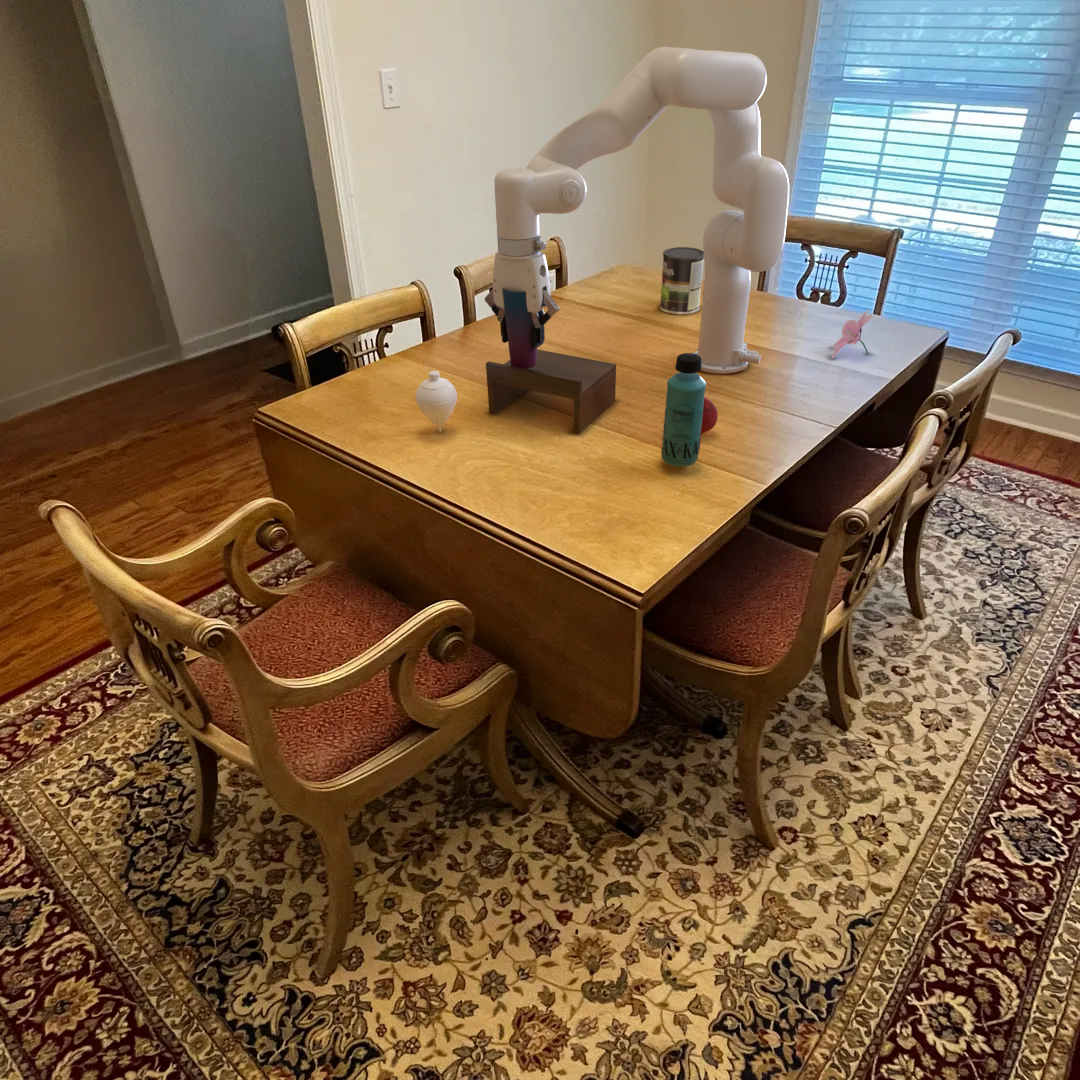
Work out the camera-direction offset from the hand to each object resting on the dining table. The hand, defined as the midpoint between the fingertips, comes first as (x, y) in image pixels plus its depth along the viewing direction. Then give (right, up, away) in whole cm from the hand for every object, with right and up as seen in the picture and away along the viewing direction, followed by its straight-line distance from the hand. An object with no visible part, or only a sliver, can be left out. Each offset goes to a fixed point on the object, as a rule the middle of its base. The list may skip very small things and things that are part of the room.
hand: (522, 342), depth 151 cm
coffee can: (+40, +22, +55) cm, 71 cm away
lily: (+72, +4, +27) cm, 77 cm away
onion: (+33, -18, -4) cm, 38 cm away
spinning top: (-16, -17, 0) cm, 23 cm away
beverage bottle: (+27, -25, -13) cm, 39 cm away
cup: (0, -4, +3) cm, 5 cm away
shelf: (+6, -11, +7) cm, 15 cm away
